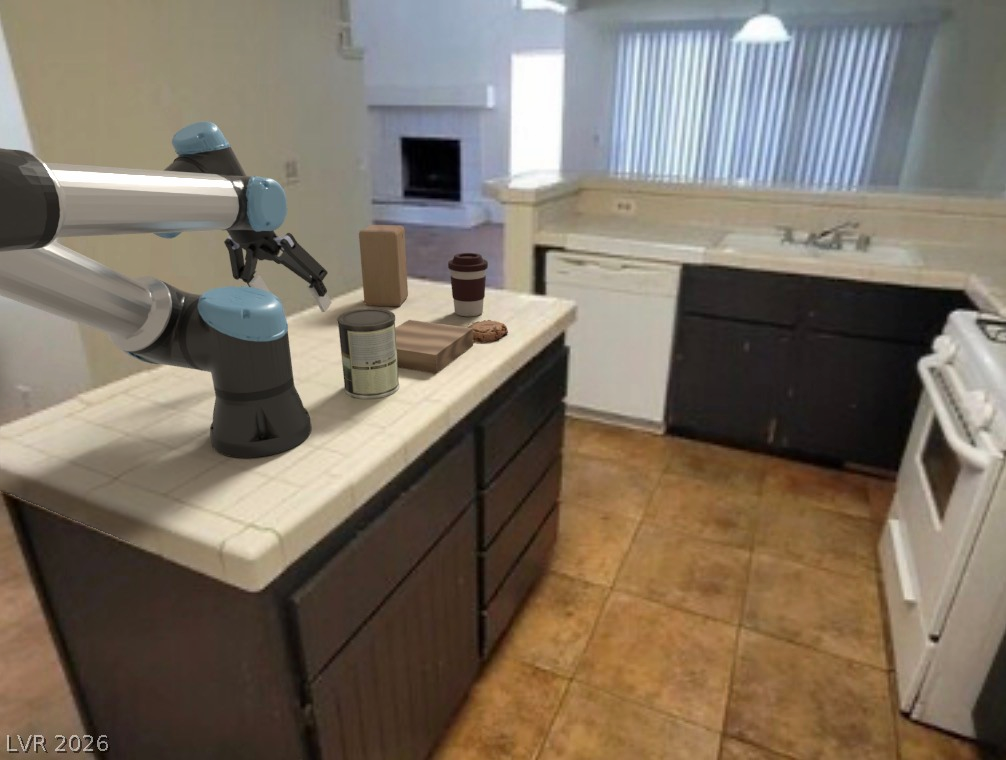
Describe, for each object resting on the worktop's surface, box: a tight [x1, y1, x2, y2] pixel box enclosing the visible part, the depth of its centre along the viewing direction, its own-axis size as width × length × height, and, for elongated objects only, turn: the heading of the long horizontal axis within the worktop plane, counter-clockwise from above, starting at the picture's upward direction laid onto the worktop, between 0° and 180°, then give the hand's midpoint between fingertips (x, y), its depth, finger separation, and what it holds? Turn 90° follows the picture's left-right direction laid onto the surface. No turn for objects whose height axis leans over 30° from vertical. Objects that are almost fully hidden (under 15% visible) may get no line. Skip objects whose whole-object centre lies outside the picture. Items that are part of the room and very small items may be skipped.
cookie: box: [467, 319, 509, 343], centre depth 150 cm, size 10×11×3 cm
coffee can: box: [336, 308, 400, 400], centre depth 118 cm, size 10×10×14 cm
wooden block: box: [358, 224, 409, 307], centre depth 171 cm, size 10×10×20 cm
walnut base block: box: [395, 319, 474, 374], centre depth 138 cm, size 18×16×4 cm
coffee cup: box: [447, 252, 489, 318], centre depth 163 cm, size 10×10×15 cm
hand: (298, 305), depth 125 cm, fingers open, 13 cm apart
